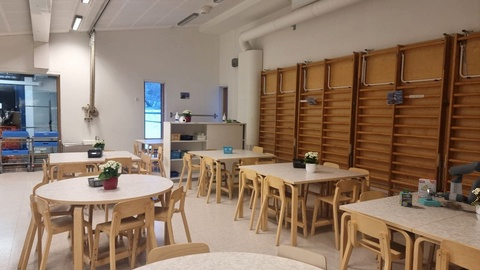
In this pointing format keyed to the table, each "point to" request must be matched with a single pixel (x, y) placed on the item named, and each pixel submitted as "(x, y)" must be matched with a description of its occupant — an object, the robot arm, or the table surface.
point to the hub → (429, 202)
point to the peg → (429, 198)
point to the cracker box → (426, 187)
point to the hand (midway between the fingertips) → (431, 193)
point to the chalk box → (405, 198)
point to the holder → (451, 204)
